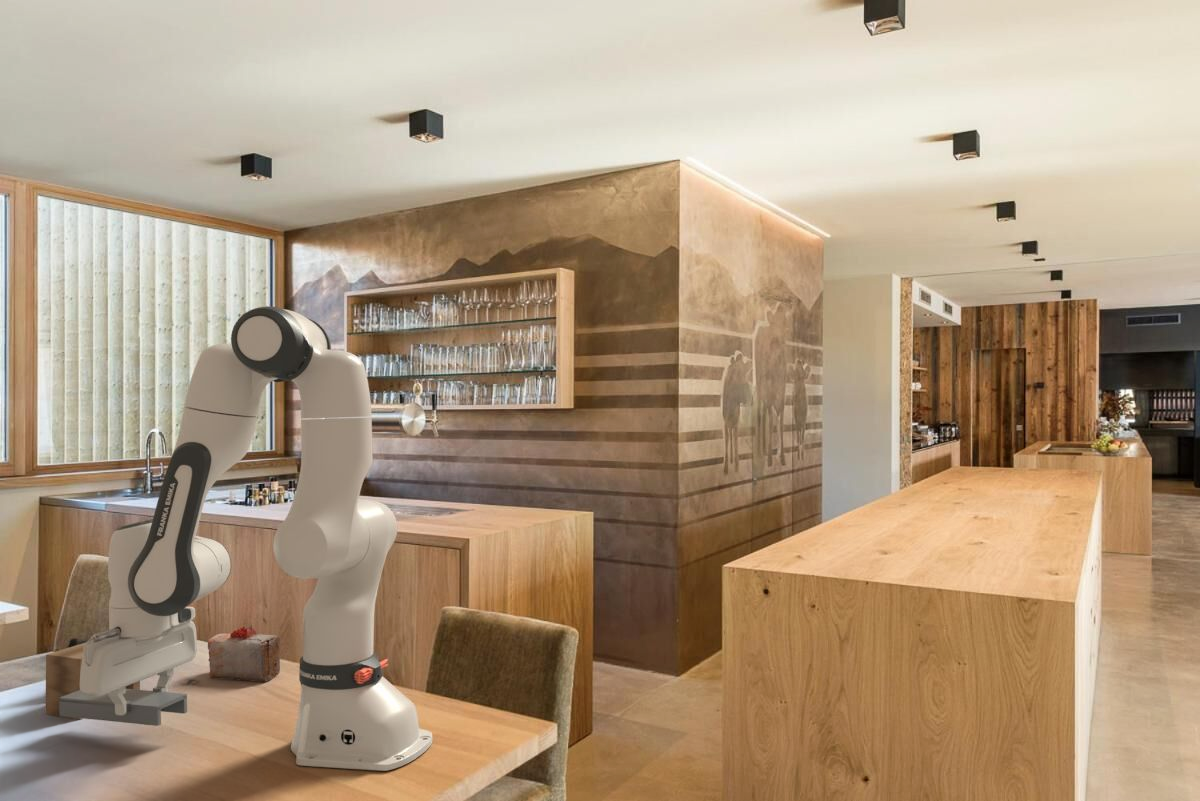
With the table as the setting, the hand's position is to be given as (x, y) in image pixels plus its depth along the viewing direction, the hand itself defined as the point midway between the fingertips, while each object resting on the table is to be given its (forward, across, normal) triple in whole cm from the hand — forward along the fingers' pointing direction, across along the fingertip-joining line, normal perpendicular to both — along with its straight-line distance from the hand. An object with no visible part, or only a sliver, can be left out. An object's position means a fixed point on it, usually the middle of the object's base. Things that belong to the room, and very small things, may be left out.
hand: (142, 705), depth 135 cm
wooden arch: (+5, +11, +22) cm, 25 cm away
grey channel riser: (+2, 0, +4) cm, 4 cm away
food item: (+6, +32, +8) cm, 34 cm away
